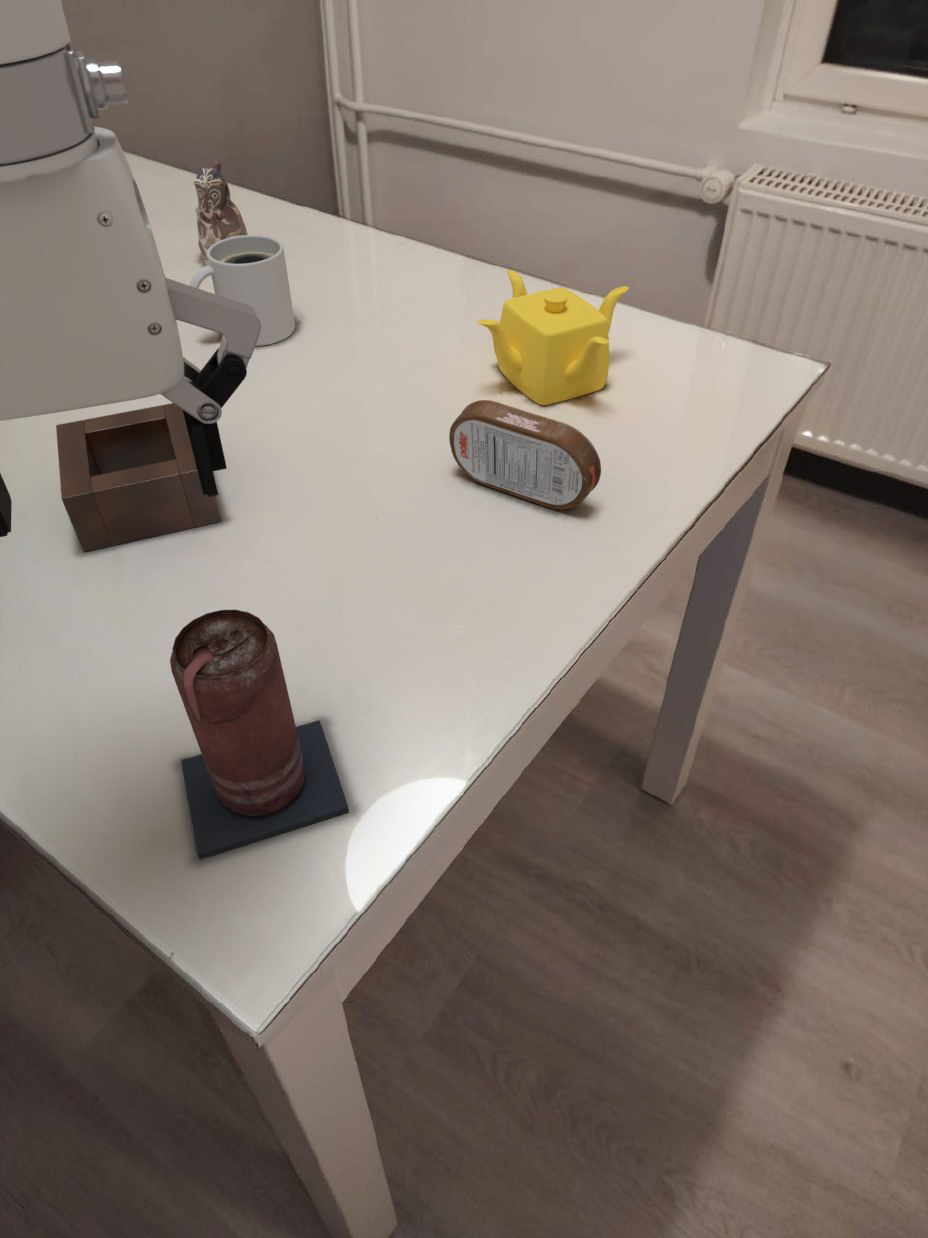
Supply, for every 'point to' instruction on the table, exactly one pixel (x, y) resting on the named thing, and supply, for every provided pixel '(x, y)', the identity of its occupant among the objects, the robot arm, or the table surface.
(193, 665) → the can
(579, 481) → the tin
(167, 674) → the table surface
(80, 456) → the holder
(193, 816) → the mat
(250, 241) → the mug
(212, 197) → the figurine
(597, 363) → the teapot
